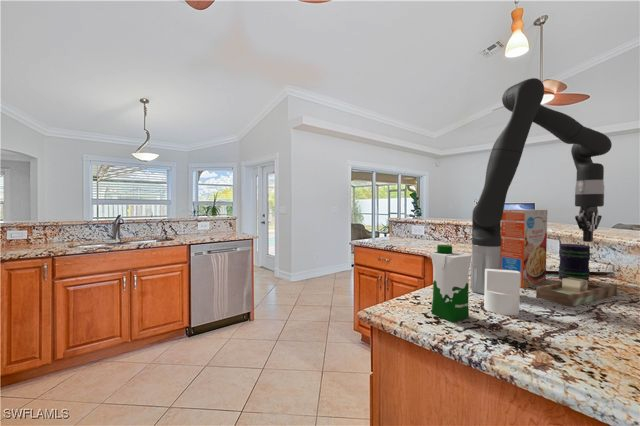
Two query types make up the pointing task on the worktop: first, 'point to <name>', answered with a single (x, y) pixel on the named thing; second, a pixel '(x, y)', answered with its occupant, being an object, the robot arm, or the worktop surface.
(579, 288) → the maple block
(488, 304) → the base with upright slab
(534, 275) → the orange cereal box
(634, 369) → the worktop surface
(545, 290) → the trap track
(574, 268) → the storage jar
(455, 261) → the milk carton
